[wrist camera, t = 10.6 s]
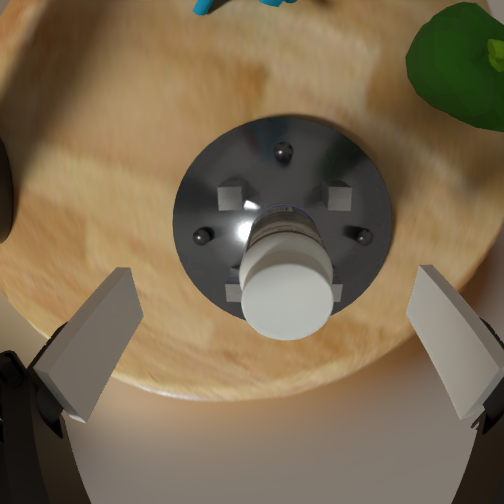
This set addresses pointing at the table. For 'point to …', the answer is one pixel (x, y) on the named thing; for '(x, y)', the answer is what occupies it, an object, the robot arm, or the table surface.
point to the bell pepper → (461, 65)
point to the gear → (205, 3)
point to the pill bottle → (285, 275)
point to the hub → (281, 192)
